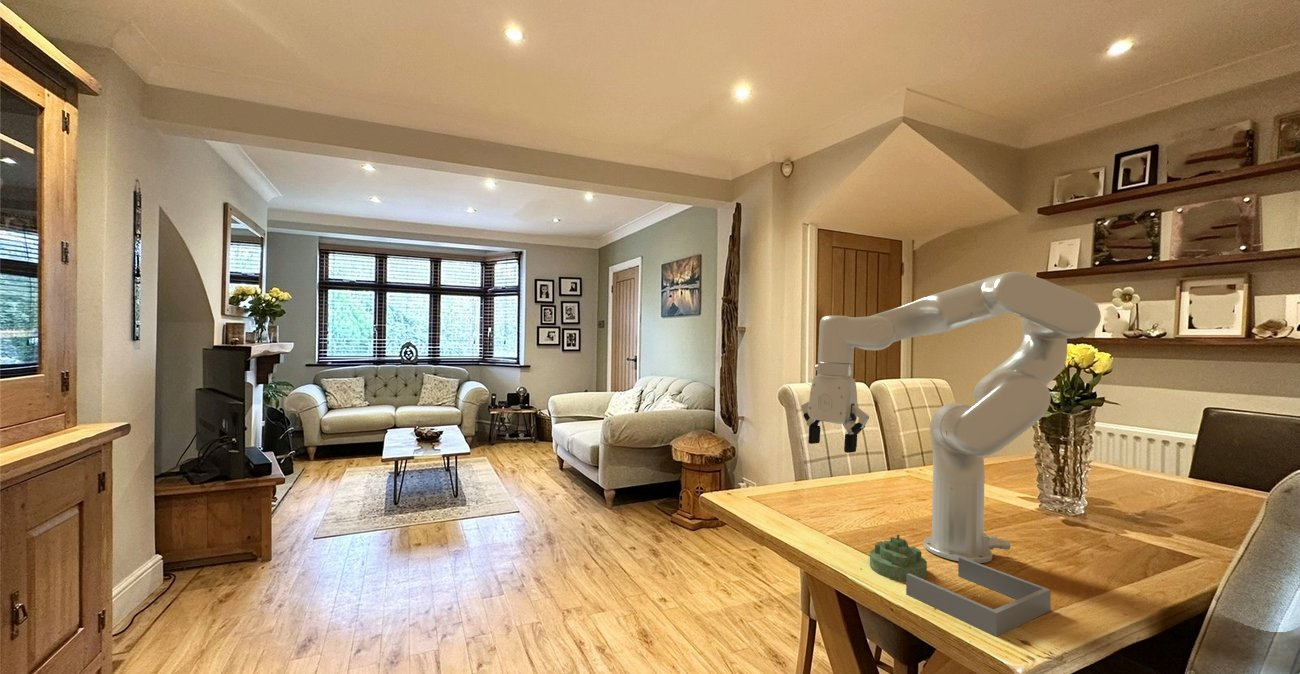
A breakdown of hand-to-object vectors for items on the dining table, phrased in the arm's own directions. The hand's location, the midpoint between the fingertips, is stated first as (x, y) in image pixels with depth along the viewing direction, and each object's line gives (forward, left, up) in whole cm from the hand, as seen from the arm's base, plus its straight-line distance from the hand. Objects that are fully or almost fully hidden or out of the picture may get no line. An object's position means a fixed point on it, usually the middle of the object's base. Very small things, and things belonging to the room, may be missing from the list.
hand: (831, 447), depth 115 cm
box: (-21, +23, -21) cm, 37 cm away
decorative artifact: (-11, +12, -21) cm, 27 cm away
